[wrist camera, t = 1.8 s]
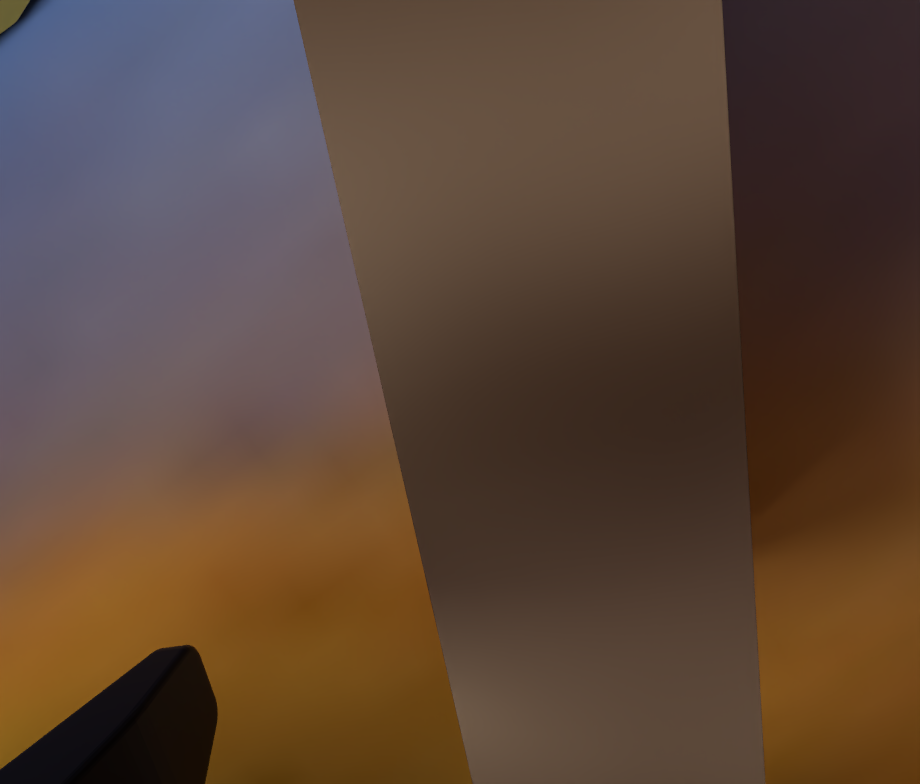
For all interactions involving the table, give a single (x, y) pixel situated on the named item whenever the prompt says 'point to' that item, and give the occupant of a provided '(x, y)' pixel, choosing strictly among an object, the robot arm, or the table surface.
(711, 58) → the rail
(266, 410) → the table surface
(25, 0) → the plastic component
